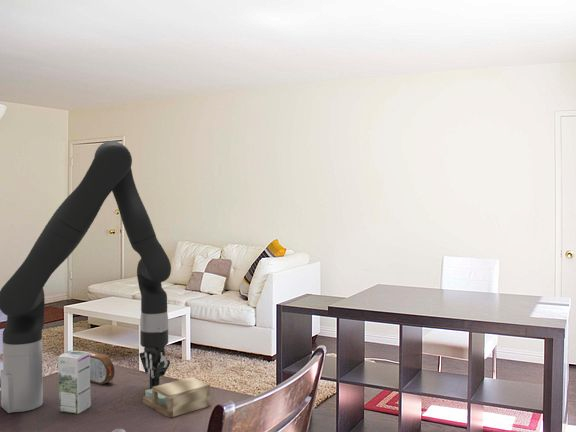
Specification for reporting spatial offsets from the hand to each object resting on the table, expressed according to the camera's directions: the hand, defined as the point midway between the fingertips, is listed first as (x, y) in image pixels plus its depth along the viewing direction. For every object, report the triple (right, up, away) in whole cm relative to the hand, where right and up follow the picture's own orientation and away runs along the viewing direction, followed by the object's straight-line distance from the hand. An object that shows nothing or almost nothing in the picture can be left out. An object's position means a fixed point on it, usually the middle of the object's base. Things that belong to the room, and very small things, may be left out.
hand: (154, 389), depth 160 cm
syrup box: (-18, -2, -12) cm, 21 cm away
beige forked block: (+8, -1, -8) cm, 11 cm away
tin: (-20, -1, +10) cm, 23 cm away
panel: (+6, -2, -6) cm, 9 cm away
